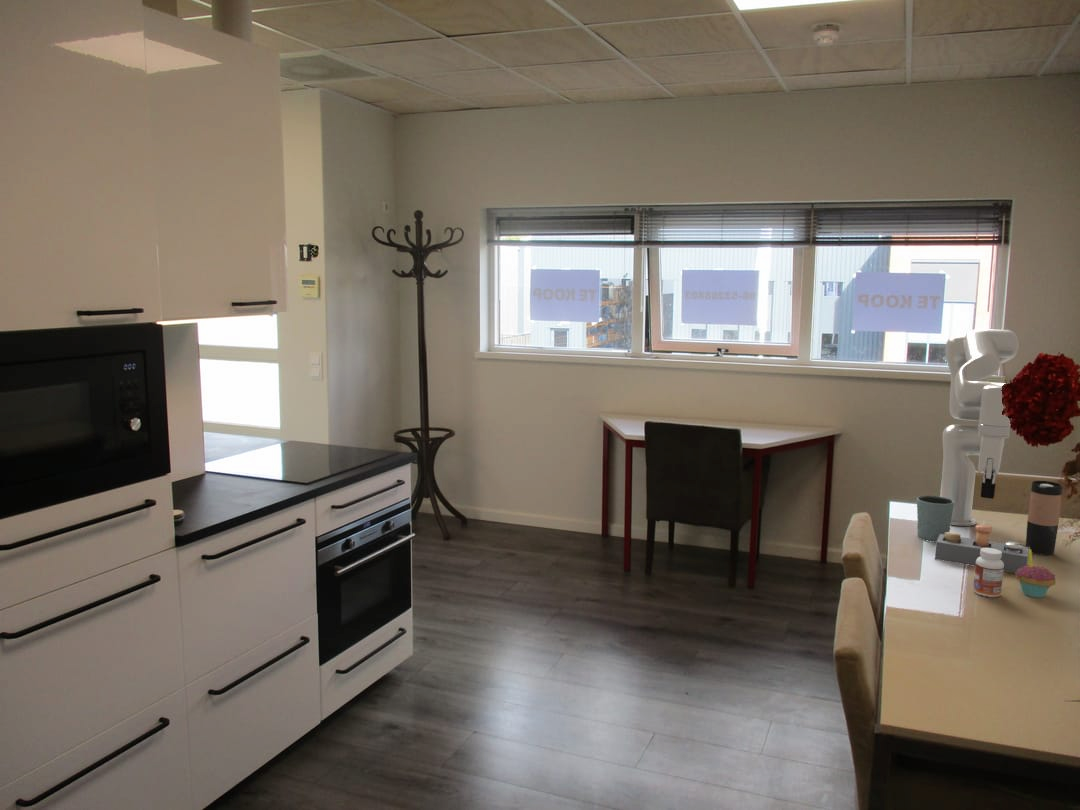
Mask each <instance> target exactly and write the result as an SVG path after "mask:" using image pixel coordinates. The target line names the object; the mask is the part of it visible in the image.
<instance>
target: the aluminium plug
mask: <svg viewBox="0 0 1080 810" xmlns="http://www.w3.org/2000/svg"><path fill="white" fill-rule="evenodd" d="M1004 544H1005V548H1006V551H1011V552H1017V553H1020V550H1022V547H1023V544H1022V543H1020V542H1016V541H1010V540H1009V541H1006V542H1004Z"/></svg>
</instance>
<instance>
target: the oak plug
mask: <svg viewBox="0 0 1080 810" xmlns="http://www.w3.org/2000/svg"><path fill="white" fill-rule="evenodd" d="M960 537H961V534H960V533H958V532H953V531H950V532H945V534H944V538H945V539H946V541H949V542H955V543H958V540H960Z"/></svg>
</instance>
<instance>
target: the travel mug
mask: <svg viewBox="0 0 1080 810" xmlns="http://www.w3.org/2000/svg"><path fill="white" fill-rule="evenodd" d="M1062 491H1063V484H1061V483H1058V482H1054V481H1047V480H1046V481H1045V480H1034V481H1032V482H1031V490H1030V495H1029V496H1030V497H1029V498H1030V499H1029V504H1028V511H1027V512H1028V513H1027V522H1026V536H1025V537H1026V538H1025V547H1028V550H1029V547H1030V549H1031V551H1032V554H1035V553H1036V555H1040V554H1043V555H1042V556H1051V555H1050V554H1052V555H1054V554H1053V553H1055V547H1056V542H1057V536H1058V529H1059V522H1060V511H1061V503H1062V493H1063V492H1062Z"/></svg>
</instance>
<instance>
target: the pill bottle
mask: <svg viewBox="0 0 1080 810" xmlns="http://www.w3.org/2000/svg"><path fill="white" fill-rule="evenodd" d="M980 555H981V557H978V558H977V560H976V565H975V566H974V575H973V584H972V585H973V586H972V590H973V592H974V593H976V594H977V595H980V596H981V595H983V596H982V597H986V596H988V597H987V598H997V597H1000V596H1001V595H1002V587H1003V578H1004V571H1003V570H1004V563H1003V562H1002V561H1001V560H1000V559H1001V557H1002V552H1001V551H1000V550H997V549H993V548H981V550H980Z"/></svg>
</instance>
